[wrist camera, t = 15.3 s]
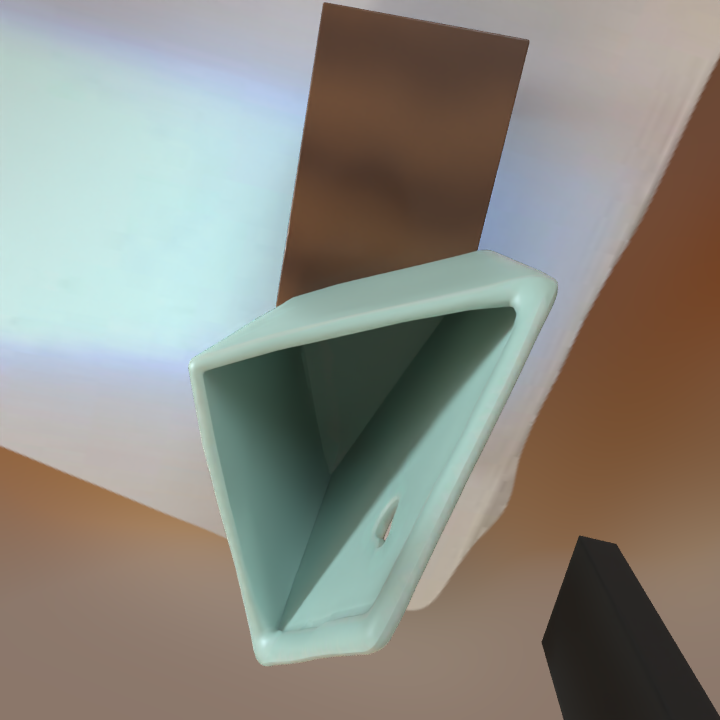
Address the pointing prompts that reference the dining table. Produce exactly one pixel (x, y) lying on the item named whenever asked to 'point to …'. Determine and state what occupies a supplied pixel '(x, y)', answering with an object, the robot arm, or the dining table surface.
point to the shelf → (396, 146)
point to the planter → (357, 440)
